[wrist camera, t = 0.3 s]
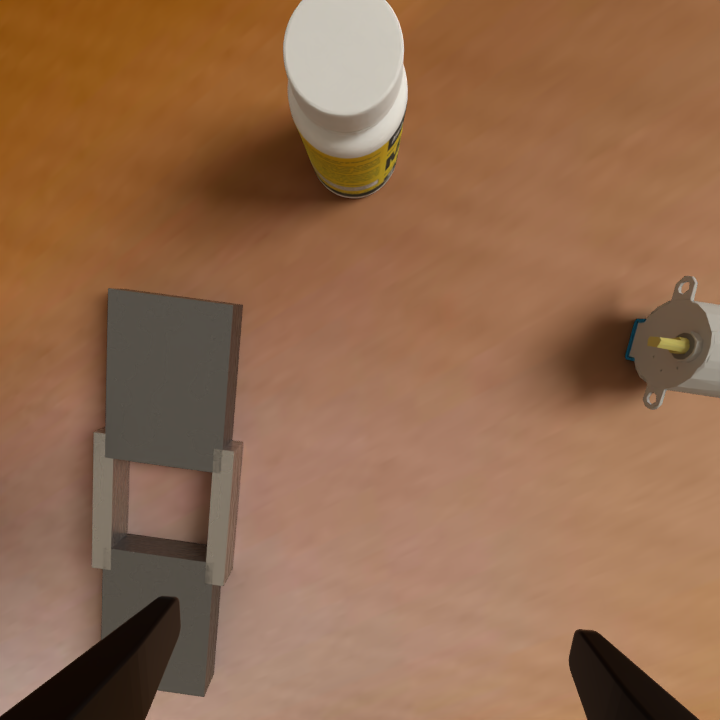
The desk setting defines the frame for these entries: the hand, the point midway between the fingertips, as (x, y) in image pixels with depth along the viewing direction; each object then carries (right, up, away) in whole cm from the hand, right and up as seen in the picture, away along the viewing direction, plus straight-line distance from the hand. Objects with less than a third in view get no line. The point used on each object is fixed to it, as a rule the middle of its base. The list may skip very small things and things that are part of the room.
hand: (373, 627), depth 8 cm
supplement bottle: (-1, +17, +12) cm, 21 cm away
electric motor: (+16, +7, +13) cm, 22 cm away
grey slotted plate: (-12, -3, +15) cm, 20 cm away
